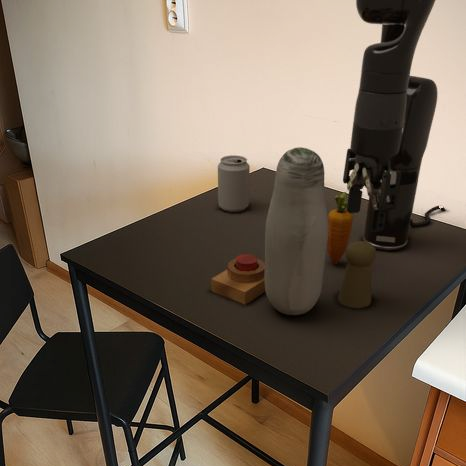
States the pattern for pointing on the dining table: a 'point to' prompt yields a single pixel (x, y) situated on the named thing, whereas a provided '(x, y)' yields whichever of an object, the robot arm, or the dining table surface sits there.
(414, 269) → the dining table surface
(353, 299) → the cork
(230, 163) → the can
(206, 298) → the dining table surface
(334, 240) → the carrot
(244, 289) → the button box
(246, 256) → the red button
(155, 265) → the dining table surface
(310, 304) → the grey tall rounded cylinder
